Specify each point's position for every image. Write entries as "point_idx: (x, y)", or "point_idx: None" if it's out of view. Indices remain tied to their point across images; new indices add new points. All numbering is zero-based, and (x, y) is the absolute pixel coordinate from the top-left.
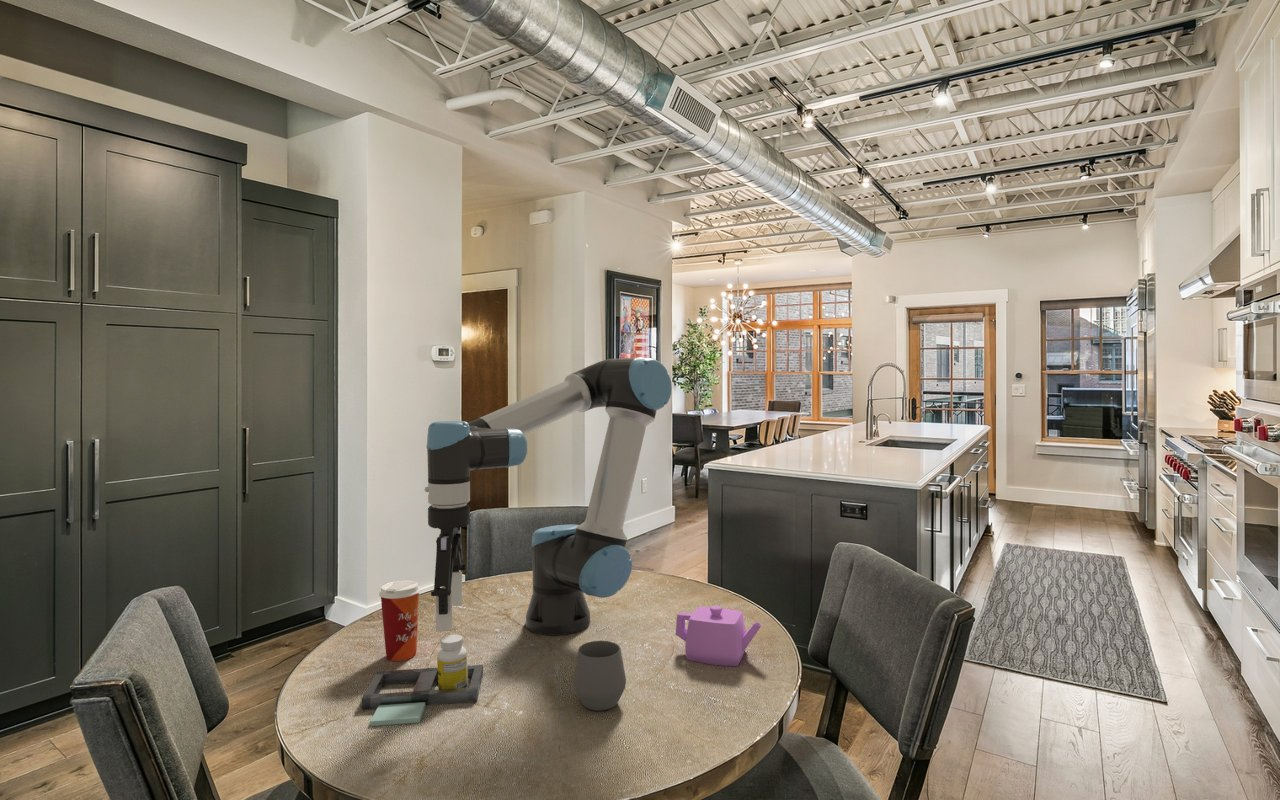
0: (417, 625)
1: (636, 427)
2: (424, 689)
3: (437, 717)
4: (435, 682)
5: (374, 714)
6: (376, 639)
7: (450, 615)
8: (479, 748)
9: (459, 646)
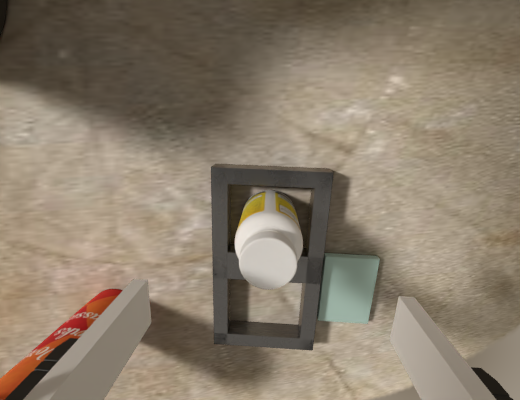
0: (74, 324)
1: None
2: (303, 266)
3: (367, 230)
4: None
5: (346, 321)
6: None
7: (446, 344)
8: (501, 154)
9: (285, 237)
